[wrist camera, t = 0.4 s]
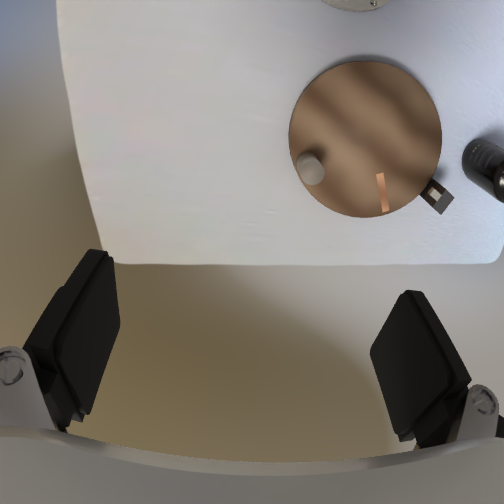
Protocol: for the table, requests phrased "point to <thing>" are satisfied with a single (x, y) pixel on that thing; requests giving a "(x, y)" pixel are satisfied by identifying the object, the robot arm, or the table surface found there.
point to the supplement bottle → (485, 167)
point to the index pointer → (436, 196)
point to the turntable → (365, 138)
